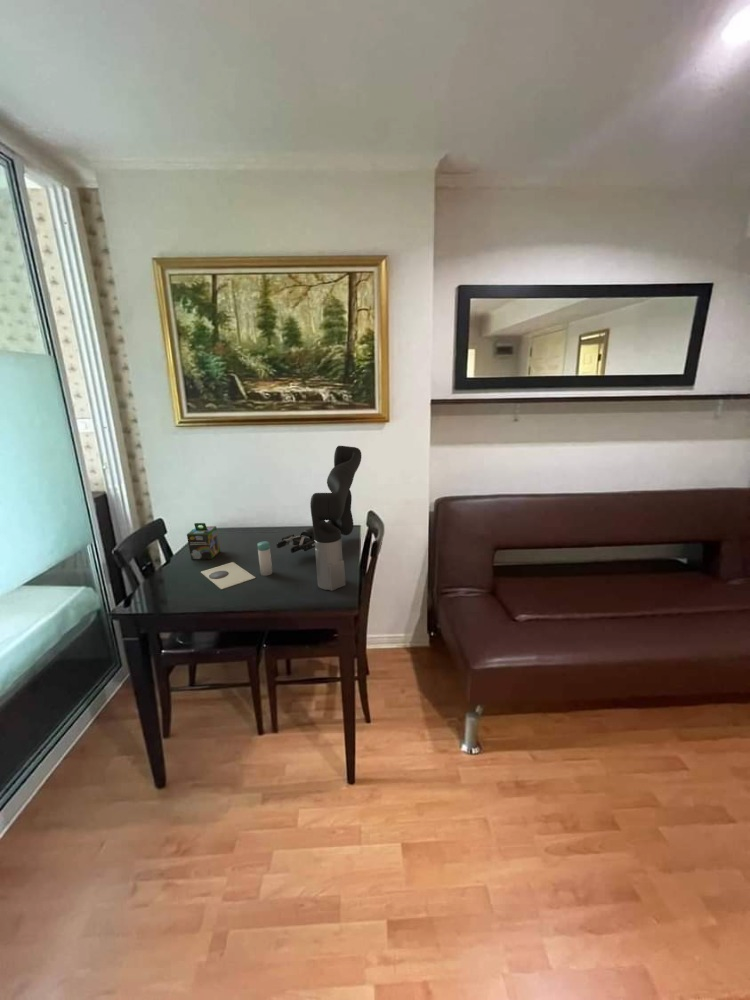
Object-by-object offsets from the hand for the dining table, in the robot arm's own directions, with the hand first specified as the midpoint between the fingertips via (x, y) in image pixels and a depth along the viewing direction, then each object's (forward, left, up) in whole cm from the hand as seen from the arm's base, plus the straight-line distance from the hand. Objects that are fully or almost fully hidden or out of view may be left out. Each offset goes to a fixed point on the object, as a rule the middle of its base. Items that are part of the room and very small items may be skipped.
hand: (284, 548), depth 171 cm
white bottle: (-2, +9, -7) cm, 12 cm away
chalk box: (+33, +19, -7) cm, 39 cm away
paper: (+7, +21, -7) cm, 23 cm away
